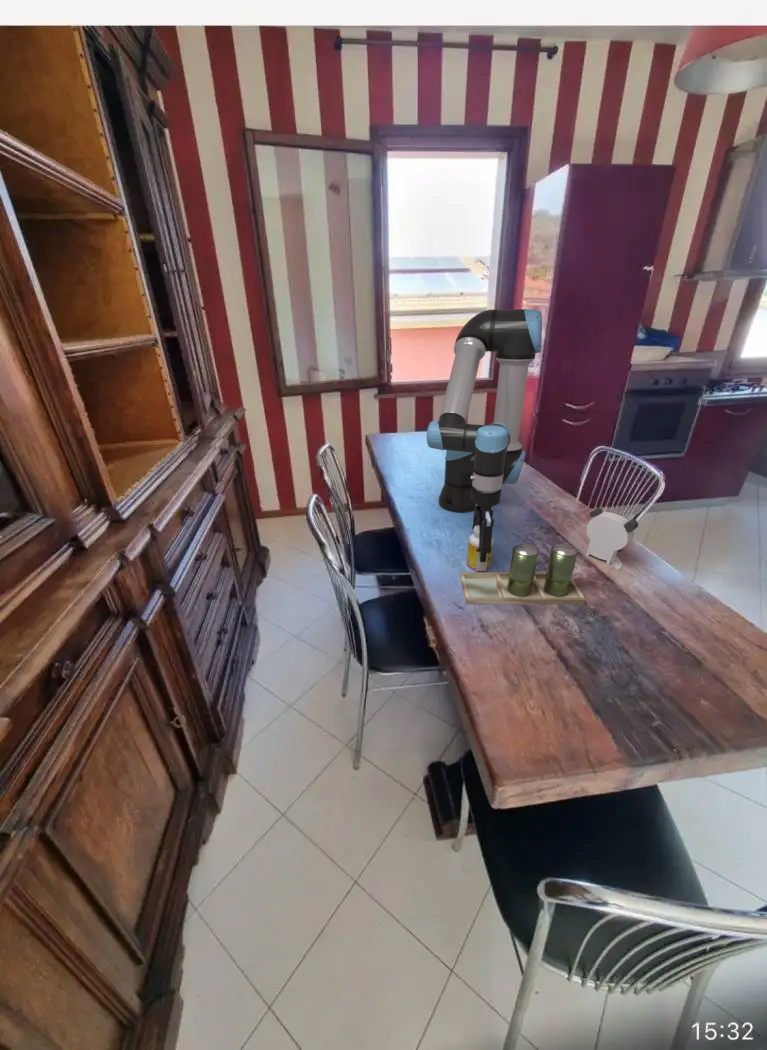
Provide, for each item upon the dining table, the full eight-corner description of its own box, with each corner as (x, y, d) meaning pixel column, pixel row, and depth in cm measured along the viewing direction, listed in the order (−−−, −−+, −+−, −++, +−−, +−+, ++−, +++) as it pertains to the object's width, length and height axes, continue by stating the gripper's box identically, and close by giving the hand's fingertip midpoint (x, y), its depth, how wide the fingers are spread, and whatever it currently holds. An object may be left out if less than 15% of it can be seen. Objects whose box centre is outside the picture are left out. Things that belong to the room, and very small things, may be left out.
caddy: (459, 579, 115) (460, 572, 113) (566, 579, 114) (568, 572, 112) (465, 607, 104) (466, 599, 103) (583, 607, 103) (585, 599, 102)
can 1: (504, 583, 111) (510, 543, 105) (527, 583, 111) (534, 543, 105) (510, 597, 106) (516, 555, 100) (534, 597, 106) (542, 555, 100)
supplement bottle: (472, 576, 116) (476, 536, 110) (462, 563, 121) (465, 524, 115) (494, 572, 117) (499, 532, 111) (483, 559, 123) (487, 521, 117)
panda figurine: (630, 562, 120) (645, 516, 113) (613, 578, 114) (627, 530, 107) (589, 546, 128) (600, 502, 121) (571, 560, 122) (582, 514, 115)
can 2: (540, 583, 111) (548, 542, 105) (563, 583, 111) (572, 542, 105) (547, 597, 106) (556, 555, 100) (571, 597, 105) (581, 555, 99)
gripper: (466, 474, 117) (460, 545, 127) (478, 503, 99) (470, 582, 110) (493, 473, 116) (485, 545, 127) (510, 503, 99) (499, 583, 110)
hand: (478, 562), depth 119 cm, fingers closed on supplement bottle, 7 cm apart
